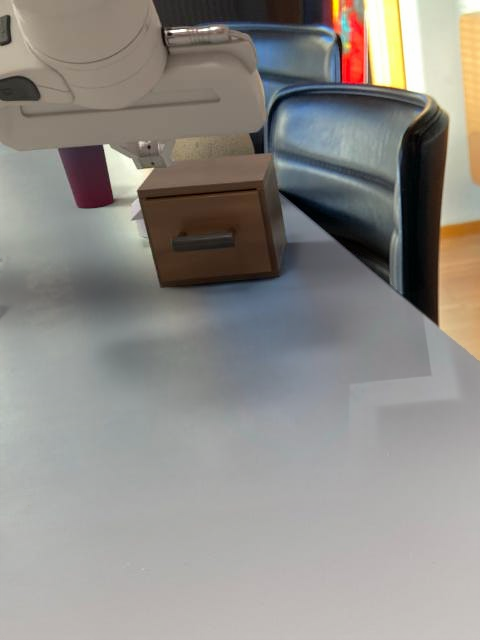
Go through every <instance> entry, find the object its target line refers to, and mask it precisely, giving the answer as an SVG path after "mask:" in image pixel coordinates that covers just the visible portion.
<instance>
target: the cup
mask: <svg viewBox="0 0 480 640" xmlns="http://www.w3.org/2000/svg"><path fill="white" fill-rule="evenodd" d="M56 149H57V151H58V154H59V157H60V161H61V163H62V166H63V169H64V172H65V175H66V178H67V181H68V183H69V186H70V189H71V193H72V195H73V199H74V202H75V205H76V207H78V208H81V209H93V208H100V207H105V206H109V205H111V204H113V203H114V202H115V198H114V193H113V188H112V183H111V178H110V174H109V173H110V172H109V168H108V163H107V157H106V153H105V147H104V145H92V146H80V147H67V148H56Z"/></svg>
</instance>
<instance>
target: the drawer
mask: <svg viewBox="0 0 480 640" xmlns="http://www.w3.org/2000/svg"><path fill="white" fill-rule="evenodd" d="M143 205H144V209H145V213H146V217H147V221H148V226H149V230H150V234H151V238H152V242H153V246H154V250H155V254H156V259H157V263H158V267H159V271H160V275H161V279H162V281H173V280H184V279H195V278H207V277H218V276H229V275H240V274H251V273H262V272H272V263H271V257H270V252H269V246H268V240H267V235H266V229H265V224H264V218H263V212H262V207H261V201H260V195H259V190H257V189H246V190H234V191H222V192H211V193H199V194H187V195H176V196H164V197H155V199H146V200H144V202H143Z"/></svg>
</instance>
